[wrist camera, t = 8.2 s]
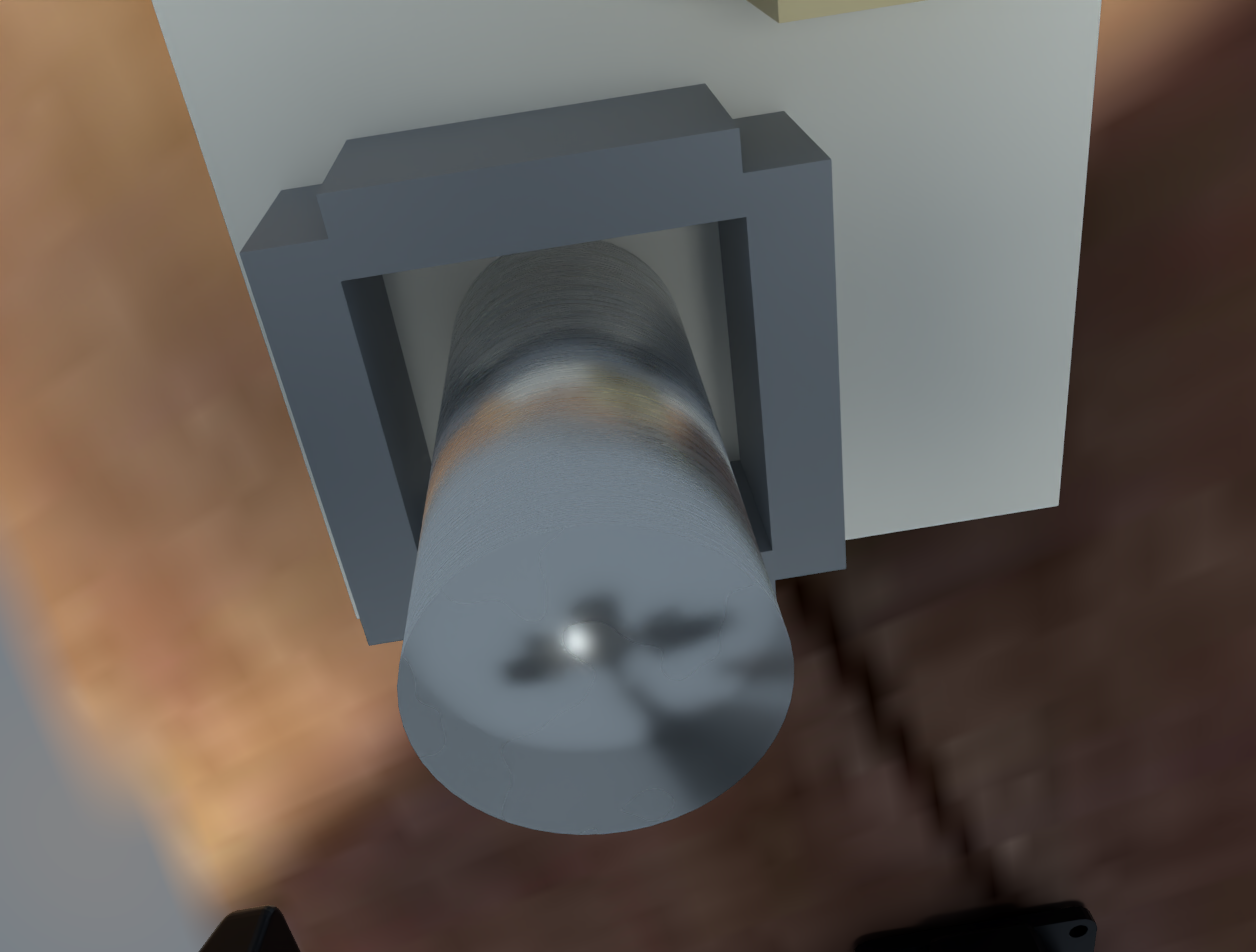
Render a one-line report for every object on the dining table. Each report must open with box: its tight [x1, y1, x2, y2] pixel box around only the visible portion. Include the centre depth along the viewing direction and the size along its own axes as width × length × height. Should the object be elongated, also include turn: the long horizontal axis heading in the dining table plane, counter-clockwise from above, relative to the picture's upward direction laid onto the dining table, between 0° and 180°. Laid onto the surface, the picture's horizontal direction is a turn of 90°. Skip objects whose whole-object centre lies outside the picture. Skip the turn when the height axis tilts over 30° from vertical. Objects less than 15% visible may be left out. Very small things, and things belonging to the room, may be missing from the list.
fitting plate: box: [152, 0, 1101, 646], centre depth 16 cm, size 16×14×4 cm
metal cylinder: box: [397, 240, 794, 835], centre depth 15 cm, size 4×4×9 cm
